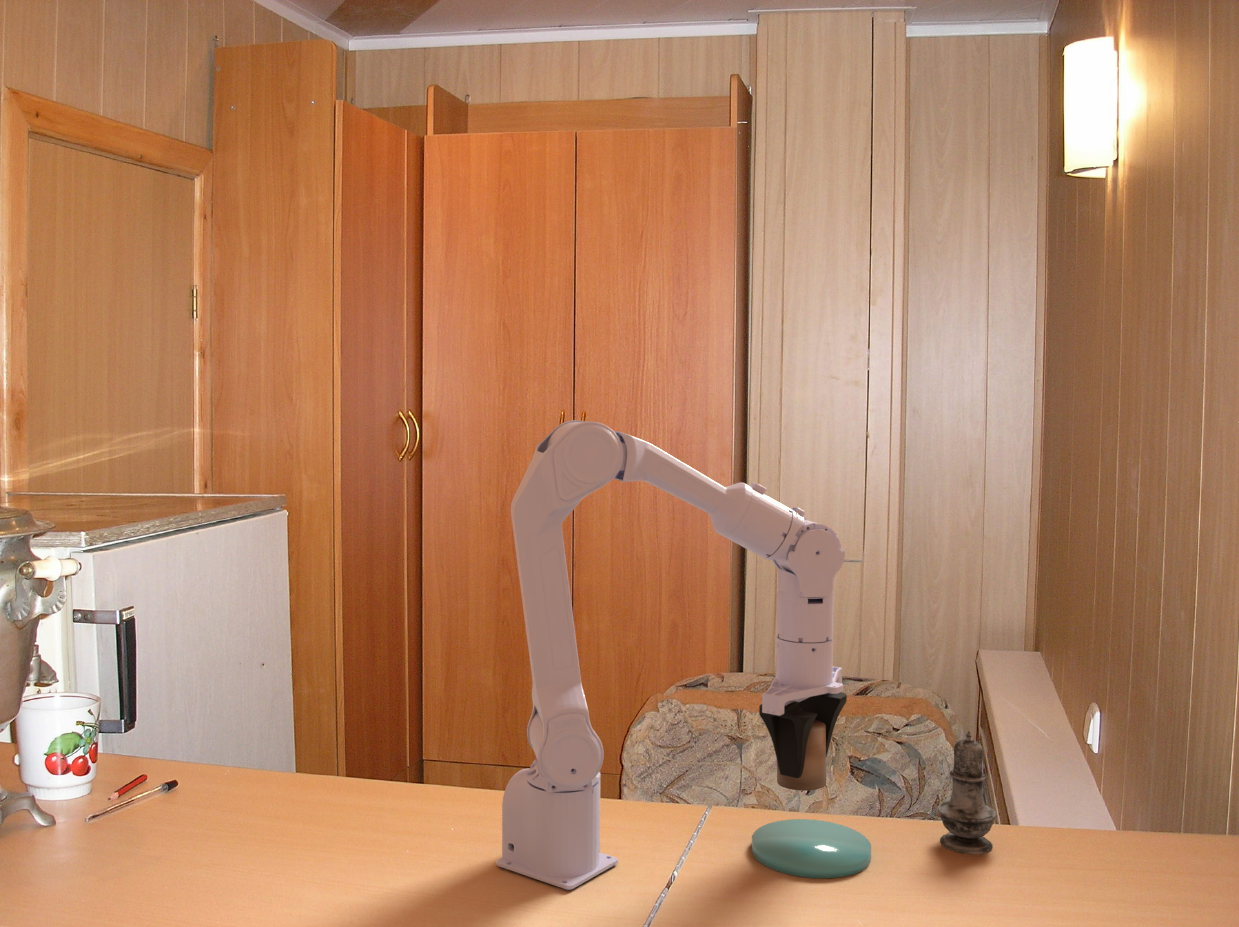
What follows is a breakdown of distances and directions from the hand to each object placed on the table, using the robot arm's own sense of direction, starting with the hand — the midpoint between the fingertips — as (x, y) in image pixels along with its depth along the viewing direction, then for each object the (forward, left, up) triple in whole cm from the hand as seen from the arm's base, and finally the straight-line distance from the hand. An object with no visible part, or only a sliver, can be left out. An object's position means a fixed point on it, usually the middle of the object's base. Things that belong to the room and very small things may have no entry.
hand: (802, 768), depth 111 cm
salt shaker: (+13, +12, -9) cm, 20 cm away
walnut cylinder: (0, 0, -2) cm, 2 cm away
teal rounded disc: (+1, 0, -8) cm, 9 cm away
